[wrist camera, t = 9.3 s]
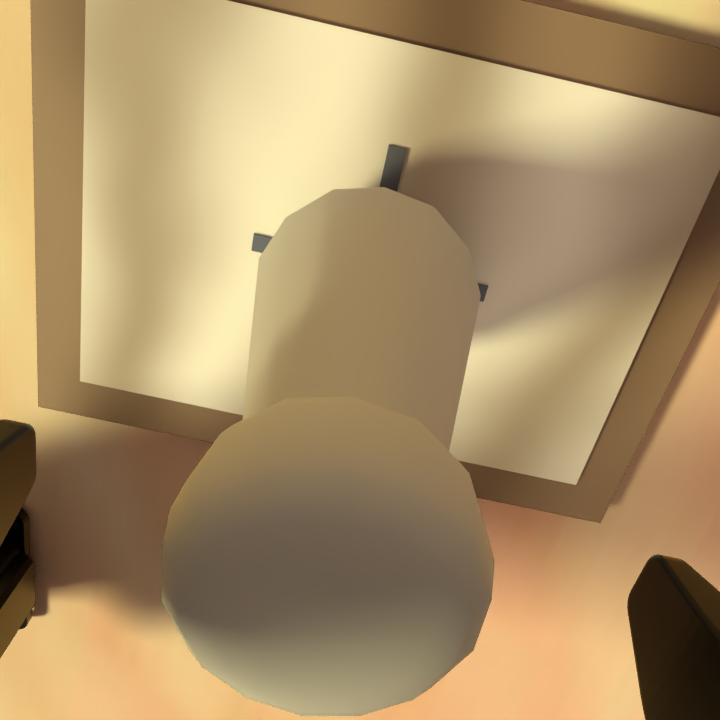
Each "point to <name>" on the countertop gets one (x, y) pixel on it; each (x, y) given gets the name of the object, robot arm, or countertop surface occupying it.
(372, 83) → the picture frame
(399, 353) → the salt shaker
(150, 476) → the countertop surface
